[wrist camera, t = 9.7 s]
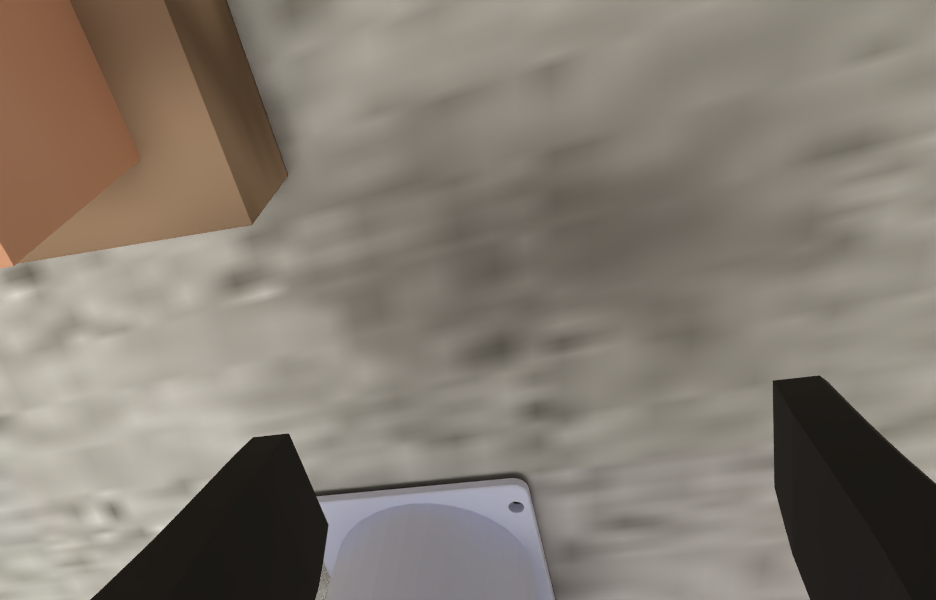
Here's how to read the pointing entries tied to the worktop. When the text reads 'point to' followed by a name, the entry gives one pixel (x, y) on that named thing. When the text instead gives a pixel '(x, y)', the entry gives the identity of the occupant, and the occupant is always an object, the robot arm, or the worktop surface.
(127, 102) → the walnut block
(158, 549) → the robot arm
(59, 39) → the terracotta cube
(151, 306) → the worktop surface
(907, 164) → the worktop surface
